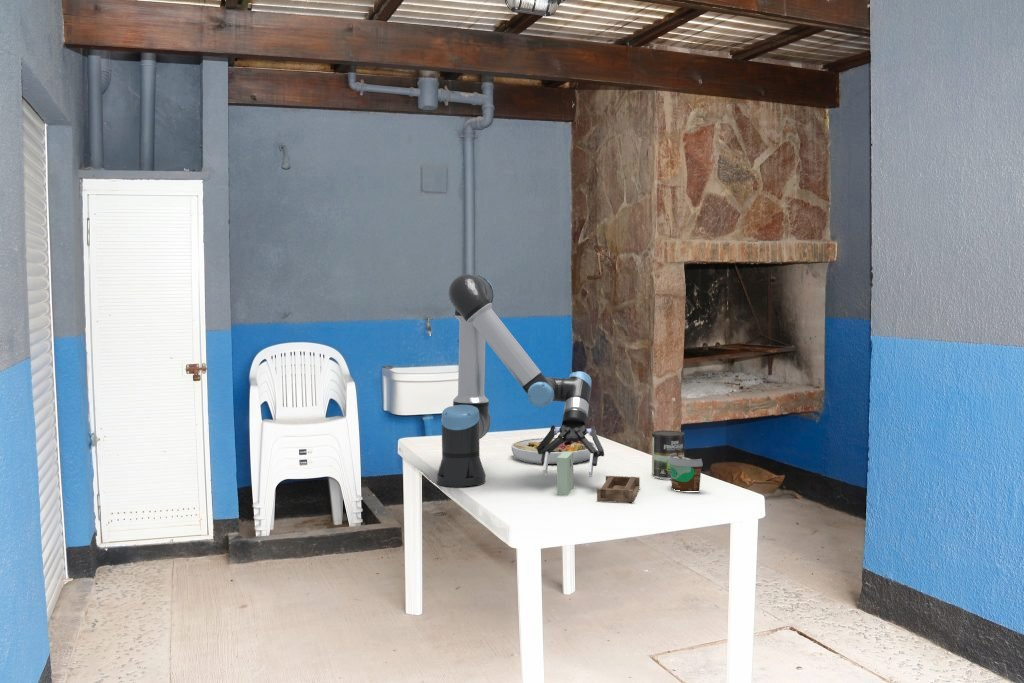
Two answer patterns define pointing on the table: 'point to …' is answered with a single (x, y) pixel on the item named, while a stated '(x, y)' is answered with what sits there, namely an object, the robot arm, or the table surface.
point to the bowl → (529, 453)
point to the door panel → (564, 473)
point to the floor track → (619, 489)
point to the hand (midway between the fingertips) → (567, 473)
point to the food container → (685, 473)
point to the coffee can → (665, 451)
